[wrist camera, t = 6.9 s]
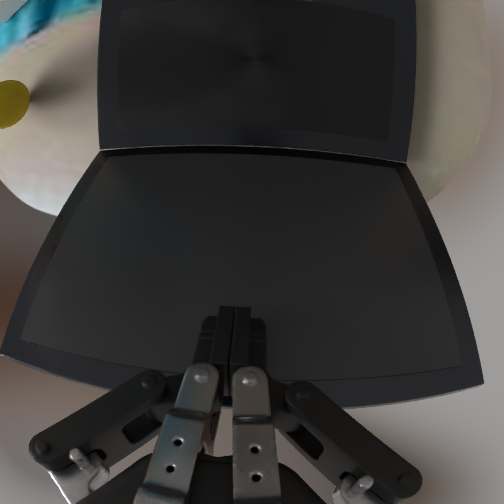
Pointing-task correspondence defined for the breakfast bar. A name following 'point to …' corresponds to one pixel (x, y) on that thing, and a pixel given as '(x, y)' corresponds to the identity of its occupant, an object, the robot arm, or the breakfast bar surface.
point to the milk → (9, 8)
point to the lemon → (12, 102)
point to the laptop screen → (249, 273)
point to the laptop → (258, 74)
